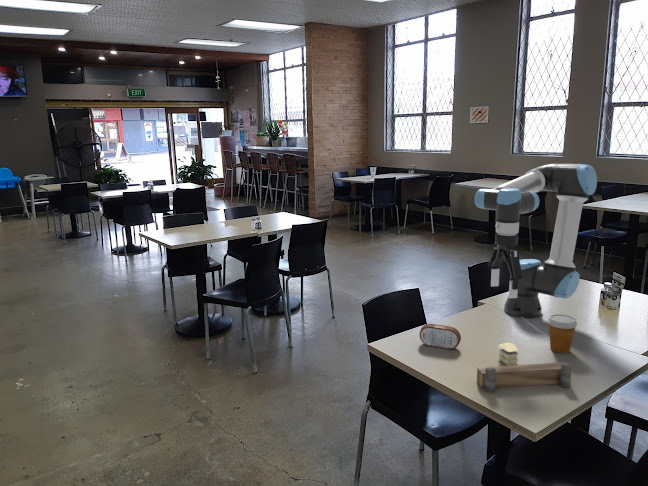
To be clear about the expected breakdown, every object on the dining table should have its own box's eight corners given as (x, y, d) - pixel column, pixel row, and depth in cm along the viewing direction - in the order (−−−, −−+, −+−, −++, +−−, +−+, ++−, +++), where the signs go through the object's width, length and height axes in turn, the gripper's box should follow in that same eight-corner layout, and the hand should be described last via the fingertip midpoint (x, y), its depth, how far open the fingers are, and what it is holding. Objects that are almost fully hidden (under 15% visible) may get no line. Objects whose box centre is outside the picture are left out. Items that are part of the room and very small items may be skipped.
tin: (460, 348, 182) (461, 327, 180) (459, 351, 179) (460, 330, 177) (420, 342, 188) (420, 321, 186) (418, 345, 185) (418, 324, 184)
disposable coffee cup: (572, 345, 181) (575, 315, 179) (576, 356, 173) (579, 324, 170) (544, 342, 184) (546, 312, 182) (546, 353, 176) (549, 322, 173)
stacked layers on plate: (528, 366, 167) (529, 351, 166) (504, 369, 166) (504, 354, 164) (511, 354, 177) (512, 339, 176) (488, 357, 175) (489, 342, 174)
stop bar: (476, 381, 158) (477, 361, 156) (561, 376, 159) (563, 356, 158) (485, 393, 151) (486, 372, 149) (573, 387, 153) (575, 366, 151)
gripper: (481, 227, 183) (478, 282, 188) (514, 241, 159) (510, 304, 163) (500, 226, 184) (497, 280, 188) (536, 240, 160) (531, 302, 164)
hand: (503, 291), depth 176 cm, fingers open, 13 cm apart
